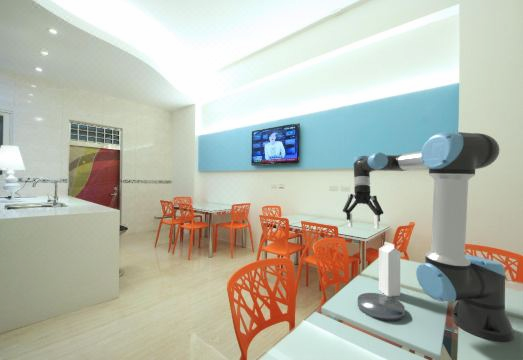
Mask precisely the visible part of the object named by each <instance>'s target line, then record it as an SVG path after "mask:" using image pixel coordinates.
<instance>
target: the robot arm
mask: <svg viewBox="0 0 523 360" xmlns="http://www.w3.org/2000/svg"><path fill="white" fill-rule="evenodd" d="M499 154H500V145H499V143H498V141H497V140H496V139H495V138H494V137H492V136H491V135H488V134H486V133H479V132H476V133H475V132H473V133H472V132H461V131H460V132H459V131H443V132H439V133H438V132H437V133H436V134H433V135H432V136H430V137H429V138H428V140H426V141H425V143H424V144H423V146H422V149H421V151H420V150H419V151H414V152H410V153H403V154H397V155H392V154H390V155H389V154H387V155H386V154H385V153H382V152H374V153H372V154H370V155H369V156H367V155H358V156H355V157H354V158H353V178H354V179H353V183H354V188H353V189H354V194H353V193H350V194H348V198H347V199H346V203H345V204H344V207H343V209H342V212H343V213H345V214H346V220H347V222H348V224H347V225H348V227H349V228H352V227H353V213H351V212H352V211H353V210H354V209H355V208H356V207H357V206H358V204H359V205H360V204H362V205H367V207H369V209H370V210H371V211H372V213H374V215H373V223H374V224H373V225H374V228H373V229H380V225H379V222H381V215H383V214H384V210H383V209H382V207H381V205H380V203H379V201H378V198H377V197H378V196H377V195H371V186H370V185H371V178H370V177H371V175H370V173H372V172H375V171H376V172H377V171H384V172H385V171H394V172H395V171H396V172H397V171H398V172H403V171H409V170H419V169H420V170H421V169H428V175H429V176H430V177H431V178H432V179H433V199H432V200H433V202H432V223H431V244H430V245H431V246H430V250H429V251H427V252H425V256H424V257H425V258H424V262H421V263H420V264H419V265H418V266H417V267H416V270H415V275H416V279H417V282H418V284H419V287H421V289H422V291H423V292H424V293H425V294H426V295H427V296H428V297H429V298H431V299H433V300H435V301H437V302H446V303H447V302H448V303H452V302H455V303H454V306H453V308H452V310H451V320H452V322H453V323H454V324H455V325H456V326H458V327H459V328H460V329H462V330H464V331H466V332H467V333H470V334H472V335H475V336H477V337H480V338H483V339H487V340H491V341H495V342H508V341H512V340H513V339H514V330H513V329H514V328H513V327H512V324H511V321H510V319H509V316H508V314H507V311H506V276H507V275H506V271H505V267H504V265H503V264H502V263H500V262H498V261H496V260H492V259H488V258H485V257H480V256H476V255H471V254H466V252H465V251H466V238H467V237H466V235H467V232H466V231H467V214H468V193H469V180H471V179H472V178H473V177H475V176H476V170H478V169H479V170H480V169H484V168H486V167H488V166H491V165H492V164H493V163H494V162H495V161H496V160H497V159H498V157H499ZM353 199H355V200H354V202H353ZM352 202H353V203H352ZM351 203H352V204H351Z"/></svg>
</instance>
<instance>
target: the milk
mask: <svg viewBox="0 0 523 360" xmlns="http://www.w3.org/2000/svg"><path fill="white" fill-rule="evenodd" d="M383 242H384V244H383V245H382V246H381V247H379V248H378V291H379V290H380V291H381V294H383V293H384V294H383V295H387V296H390V297H392V298H393V297H400V296H401V251H400V250H398V249H396V248H395V244H394V243H390V242H387V241H383ZM380 291H379V292H380Z"/></svg>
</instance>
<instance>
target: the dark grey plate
mask: <svg viewBox="0 0 523 360" xmlns="http://www.w3.org/2000/svg"><path fill="white" fill-rule="evenodd" d="M358 307H359V308H358ZM357 308H358V309H359V310H360V311H361V312H362V313H363V314H364V313H365V315H366V316H369V317H370V318H371V319H375V320H378V319H379V321H382V320H383V321H384V322H399V321H402V320H403V319H404V318H405V315H406V314H405V306H404V304H403V302H401V301H399V300H398V299H396V298H394V297H393V296H392V297H390V296H387V295H385V294H383V293H377V292H365V293H361V294H359V295H358V297H357Z"/></svg>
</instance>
